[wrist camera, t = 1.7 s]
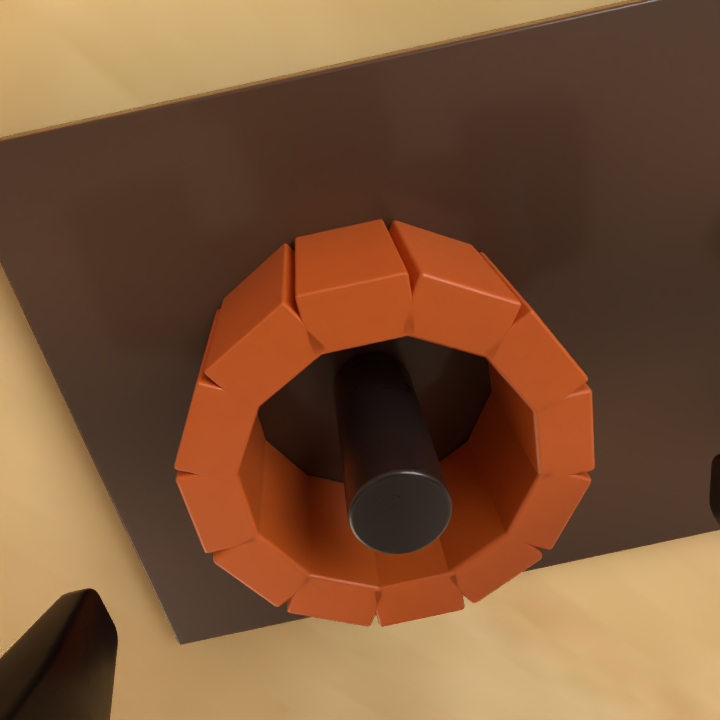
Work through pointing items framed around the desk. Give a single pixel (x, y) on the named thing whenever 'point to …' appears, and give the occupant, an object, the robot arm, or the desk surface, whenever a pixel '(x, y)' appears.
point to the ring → (460, 469)
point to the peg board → (390, 203)
